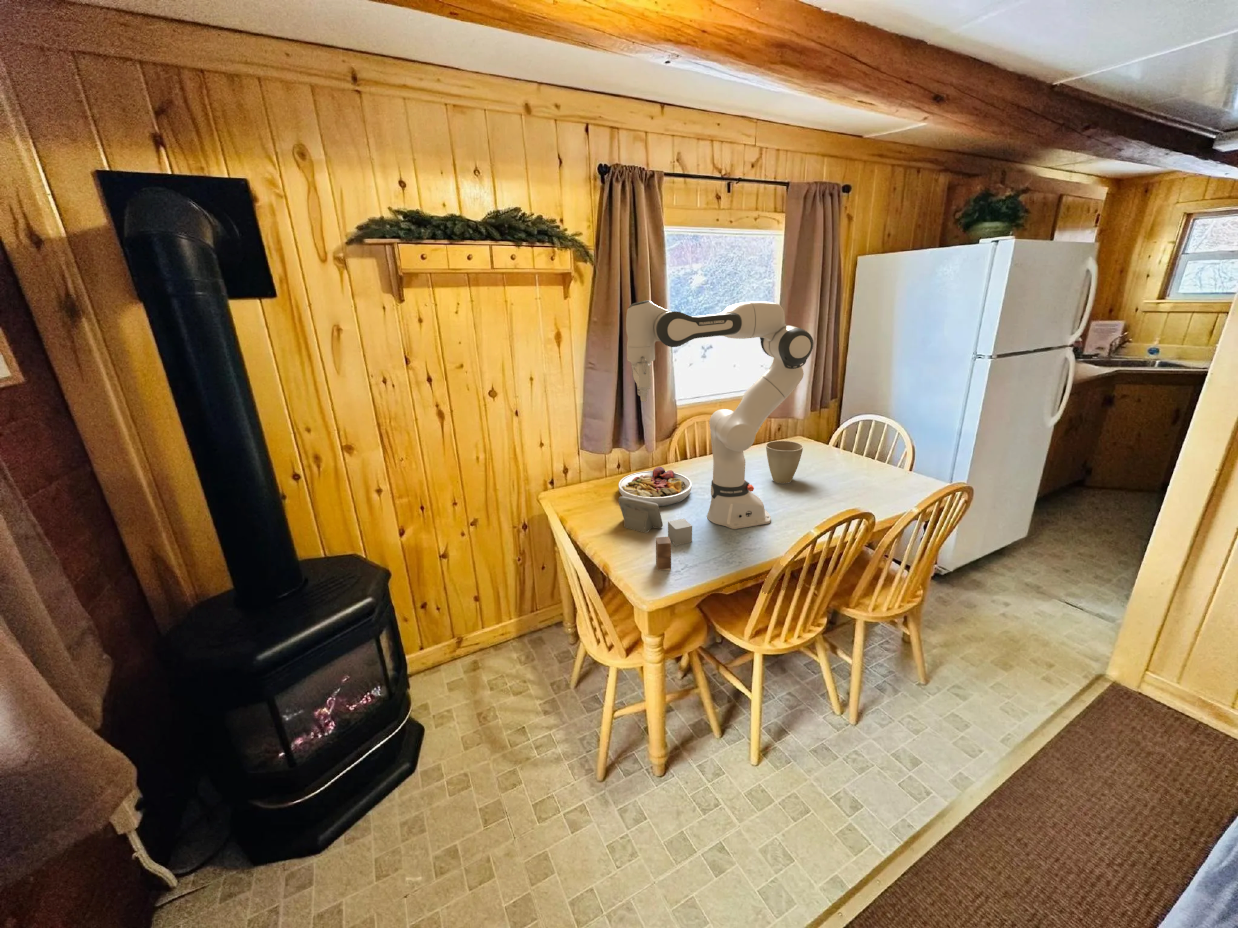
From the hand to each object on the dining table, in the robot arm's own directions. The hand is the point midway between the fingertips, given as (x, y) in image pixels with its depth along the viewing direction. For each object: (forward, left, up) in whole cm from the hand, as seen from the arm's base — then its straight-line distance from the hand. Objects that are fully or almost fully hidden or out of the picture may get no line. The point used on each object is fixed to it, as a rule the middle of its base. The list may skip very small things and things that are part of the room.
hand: (642, 398), depth 155 cm
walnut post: (-3, +28, -46) cm, 54 cm away
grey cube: (-10, +12, -46) cm, 49 cm away
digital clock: (+1, 0, -47) cm, 47 cm away
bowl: (-8, -28, -47) cm, 55 cm away
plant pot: (-64, -34, -46) cm, 86 cm away
